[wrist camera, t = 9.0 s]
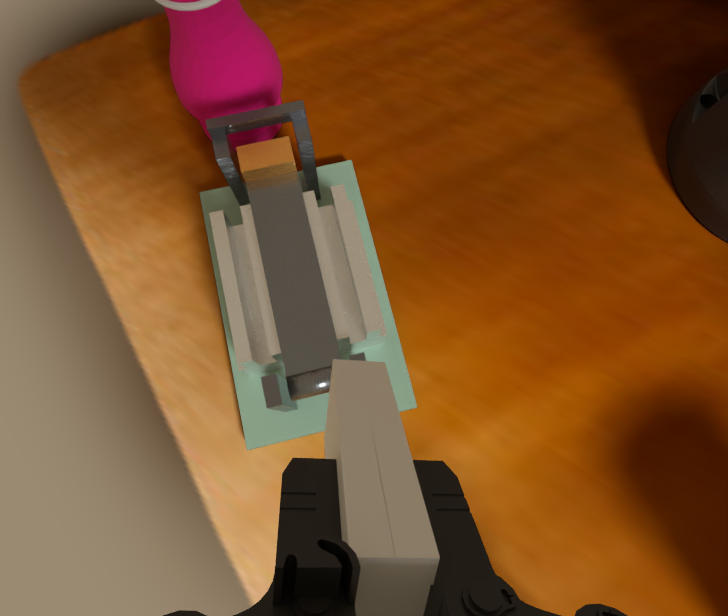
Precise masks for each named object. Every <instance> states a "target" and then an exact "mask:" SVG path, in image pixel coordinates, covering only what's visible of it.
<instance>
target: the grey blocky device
mask: <svg viewBox="0 0 728 616" xmlns="http://www.w3.org/2000/svg"><path fill="white" fill-rule="evenodd" d="M290 121H292V122H293V127H294V132H295V137H296V141H297V146H298V151H299V156H300V160H301V165H302V170H303V175H304V179H305V183H306V188H307V192H303V193H302V194H303V198H304V203H305V207H306V211H307V215H308V219H309V224H310V228H311V232H312V236H313V241H314V245H315V249H316V253H317V257H318V262H319V266H320V270H321V274H322V278H323V283H324V287H325V291H326V295H327V300H328V304H329V308H330V312H331V316H332V321H333V325H334V329H335V333H336V338H337V342H338V346H339V350H340V354H342V353H346V352H350V351H354V350H359V349H363V348H367V347H371V346H375V345H379V344H383V343H385V341H386V338H387V331H386V328H385V324H384V320H383V316H382V312H381V309H380V305H379V301H378V297H377V293H376V289H375V286H374V282H373V278H372V274H371V270H370V266H369V263H368V259H367V255H366V251H365V247H364V244H363V240H362V236H361V232H360V228H359V224H358V221H357V217H356V213H355V209H354V205H353V201H352V200H350V201H348V199H347V195H346V191H345V187H344V184H340V185H336V186H331V187H330V188H331V197H332V205H328V206H323V207H319V208H318V205H317V201H316V200H320V199H321V196H320V190H319V183H318V177H317V170H316V164H315V157H314V151H313V144H312V139H311V135H310V130H309V126H308V122H307V118H306V112H305V107H304V103H303V100H300V101H295V102H290V103H285V104H281V105H276V106H271V107H266V108H261V109H256V110H251V111H246V112H241V113H236V114H231V115H227V116H222V117H217V118H212V119H207V120H206V125H207V130H208V132H209V134H210V136H211V138H212V143H213V148H214V153H215V158H216V161H217V163H218V165H219V167H220V169H221V171H222V172H223V174H224V176H225V178H226V180H227V182H228V184H229V186H230V188H231V190H232V191H233V193H234V195H235V197H236V199H237V201H238V203H239V205H240V210H241V214H242V219H243V224H241V225H237V226H232V224H231V222H230V221H229V219H228V218H227V216H226V214H225V213H224V211H223V210H220V211H216V212H211V213H209V215H210V220H211V226H212V232H213V237H214V242H215V248H216V253H217V258H218V264H219V269H220V274H221V280H222V285H223V290H224V296H225V301H226V306H227V312H228V317H229V322H230V328H231V333H232V338H233V344H234V349H235V354H236V360H237V365H238V370H239V371H240V372H242V373H244V374H246V375H248V376H251V375H255V374H259V373H264V372H268V371H272V370H276V369H280V368H284V364H283V359H282V355H281V350H280V345H279V340H278V335H277V331H276V326H275V321H274V316H273V311H272V307H271V302H270V297H269V292H268V287H267V282H266V278H265V273H264V268H263V263H262V258H261V254H260V249H259V244H258V239H257V234H256V230H255V225H254V220H253V215H252V210H251V206H250V201H249V196H248V191H247V186H246V182H245V180H244V177H243V175H242V173H241V169H240V164H239V159H238V157H237V154H236V152H235V150H234V147H233V145H232V143H231V141H230V138H229V136H228V134H232V133H237V132H242V131H247V130H252V129H256V128H261V127H266V126H271V125H276V124H281V123H285V122H290ZM349 360H357V361H366V358H365V354H364V352H362V353H358V354H354V355H350V356H349ZM261 382H262V387H263V392H264V397H265V402H266V407H267V409H272V410H277V411H282V412H289V411H293V410H297V409H298V406H297V402H296V401H291V398H290V395H289V391H288V387H287V381H286V380H285V379H284V378H282V377H281V376H279V375H278V374H271V375H267V376H263V377H261Z"/></svg>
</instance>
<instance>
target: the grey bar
mask: <svg viewBox="0 0 728 616" xmlns="http://www.w3.org/2000/svg"><path fill="white" fill-rule="evenodd" d="M236 149H237V154H238V159H239V164H240V169H241V173H242V175H243V177H244V180H245V182H246V186H247V191H248V196H249V201H250V206H251V210H252V215H253V220H254V225H255V230H256V234H257V239H258V244H259V249H260V254H261V258H262V263H263V268H264V273H265V278H266V282H267V287H268V292H269V297H270V302H271V307H272V311H273V316H274V321H275V326H276V331H277V335H278V340H279V345H280V350H281V355H282V359H283V364H284V369H285V374H286V381H287V387H288V391H289V395H290V398H291V401H296V400H300V399H304V398H308V397H312V396H316V395H320V394H324V393H328V392H329V391H330V382H331V372H332V363H333V359H340V360H342V359H341V354H340V350H339V346H338V342H337V338H336V333H335V329H334V325H333V321H332V316H331V312H330V308H329V304H328V300H327V295H326V291H325V287H324V283H323V278H322V274H321V270H320V266H319V262H318V257H317V253H316V249H315V245H314V241H313V236H312V232H311V228H310V224H309V219H308V215H307V211H306V207H305V203H304V198H303V194H302V190H301V186H300V181H299V177H298V173H297V169H296V164H295V160H294V156H293V152H292V147H291V143H290V139H289V136H286V137H281V138H277V139H272V140H267V141H262V142H257V143H253V144H248V145H243V146H238V147H236Z"/></svg>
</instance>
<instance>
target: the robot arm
mask: <svg viewBox="0 0 728 616" xmlns="http://www.w3.org/2000/svg"><path fill="white" fill-rule="evenodd" d="M667 156H668V164H669V169H670V173H671V176H672V179H673V182H674V185H675V187H676V189H677V191H678V193H679V195H680V197H681V198H682V200H683V201H684V203H685V205H686V206H687V207H688V209H689V210H690V211H691V212H692V214H693V215H694V216H695V217H696V218H697V219H698V220H699V221H700V222H701V223H702V224H703V225H704V226H705V227H706V228H707V229H709V230H710V231H711V232H712V233H714V234H715V235H717V236H718V237H719V238H721V239H722V240H724V241H726V242H727V243H728V68H726V69H724V70H722V71H721V72H719V73H718V74H716V75H715V76H713V77H712V78H711V79H709V80H708V81H707V82H706V83H705V84H704V85H703V86H702V87H701V88H700V89H699V90H698V91H697V92H696V93H695V94H693V95H692V96H691V97H690V98H689V99H688V100H687V101H686V103H685V104H684V105H683V106H682V107H681V109H680V110H679V112H678V113H677V115H676V117H675V119H674V121H673V123H672V125H671V129H670V132H669V137H668V144H667ZM324 442H325V459H314V458H292V460H291V462H290V463H289V465H288V466H287V468H286V469H285V471H284V472H283V474H282V487H281V500H280V513H279V527H278V540H277V553H276V566H275V574H274V578H273V582H272V584H271V586H270V588H269V590H268V592H267V593H266V594H265V595H264V596H263V597H262V599H261V600H260V601H259V602H257V603H256V604H255V605H253V606H252V607H251V608H249V609H247V610H245V611H243V612H241V613H239V614H237V615H234V616H560V615H557V614H554V613H550V612H547V611H544V610H541V609H538V608H535V607H533V606H530V605H528V604H526V603H524V602H523V601H521V600H520V599H519V598H518V596H517V595H516V593H515V591H514V590H513V588H512V587H511V586H509V585H508V584H507V583H506V582H505V581H504V580H503V579H502V578H501V577H499V576H497V575H496V574H495V572H494V570H493V568H492V566H491V563H490V561H489V558H488V555H487V553H486V550H485V548H484V545H483V543H482V540H481V537H480V535H479V532H478V530H477V527H476V524H475V522H474V519H473V517H472V514H471V513H470V511H469V510H470V509H469V506H468V504H467V501H466V499H465V498H464V493H463V491H462V488H461V486H460V483H459V480H458V478H457V476H456V475H455V474H454V473H453V472H452V471H451V470H450V468H449V467H448V466H447V465H446V464H445V463H444V462H443V461H426V460H412V456H411V453H410V449H409V446H408V442H407V439H406V435H405V432H404V428H403V424H402V421H401V417H400V414H399V410H398V407H397V403H396V400H395V396H394V392H393V389H392V385H391V382H390V378H389V375H388V371H387V368H386V364H385V362H375V361H357V360H340V359H333V363H332V372H331V382H330V391H329V400H328V409H327V418H326V427H325V437H324ZM164 616H206V615H204V614H201V613H200V612H197V611H176V612H173V613H170V614H167V615H164ZM575 616H627V615H625V614H624V613H622V612H620V611H619V610H617V609H615V608H612V607H608V606H605V605H602V604H588V605H585V606H583V607H582V608H580V609H579V610H577V611H576V614H575Z"/></svg>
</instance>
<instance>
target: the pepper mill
mask: <svg viewBox="0 0 728 616" xmlns="http://www.w3.org/2000/svg"><path fill="white" fill-rule="evenodd" d="M155 1H156V2H157V3H159V4H161V5H163V6H164V9H165V12H166V14H167V17H168V20H169V25H170V54H169V62H170V71H171V78H172V81H173V85H174V87H175V90H176V92H177V95H178V97H179V99H180V101H181V103H182V104H183V106H184V107H185V108H186V109H187V111H188V112H189V113H190V114H191V115H192V116H194V117H195V118H197V119H198V120H199V122H200V124H201V126H202V128H203V130H204V132H205V134H206V135H207V136H208V138H209V139H210V140H211V141H212V138H211V136H210V134H209V132H208V130H207V125H206V120H207V119H212V118H217V117H222V116H227V115H231V114H236V113H241V112H246V111H251V110H256V109H261V108H266V107H271V106H276V105H281V104H282V101H281V97H280V93H281V88H282V69H281V65H280V62H279V59H278V56H277V53H276V51H275V49H274V47H273V45H272V43H271V42H270V40H269V39H268V37H267V36H266V34H265V33H264V32H263V31H262V30H261V29H260V28H259V27H258V25H257V24H256V23H255V22H254V21H253V20H252V19H251V18H250V17H249V16H248V15H247V14H246V13H245V12H244V10H243V8H242V7H241V4H240V2H239V0H155ZM281 125H282V123H281V124H276V125H271V126H266V127H261V128H256V129H252V130H247V131H242V132H237V133H232V134H228V136H229V138H230V141H231V143H232V145H233V147H234V150H235V151H237V149H236V147H238V146H243V145H248V144H253V143H257V142H262V141H267V140H272V139H273V138H274V137H275V135H276V134H277V133H278V131H279V129H280V127H281Z"/></svg>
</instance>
